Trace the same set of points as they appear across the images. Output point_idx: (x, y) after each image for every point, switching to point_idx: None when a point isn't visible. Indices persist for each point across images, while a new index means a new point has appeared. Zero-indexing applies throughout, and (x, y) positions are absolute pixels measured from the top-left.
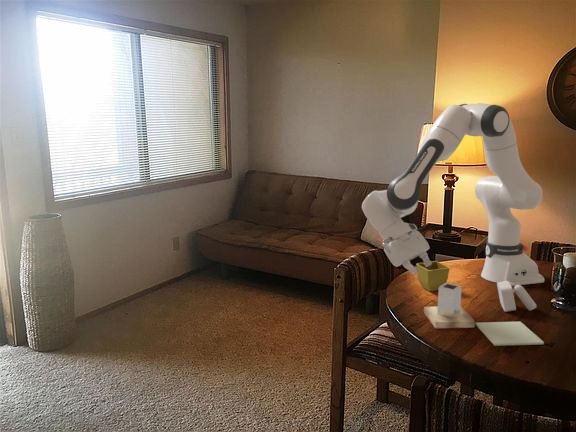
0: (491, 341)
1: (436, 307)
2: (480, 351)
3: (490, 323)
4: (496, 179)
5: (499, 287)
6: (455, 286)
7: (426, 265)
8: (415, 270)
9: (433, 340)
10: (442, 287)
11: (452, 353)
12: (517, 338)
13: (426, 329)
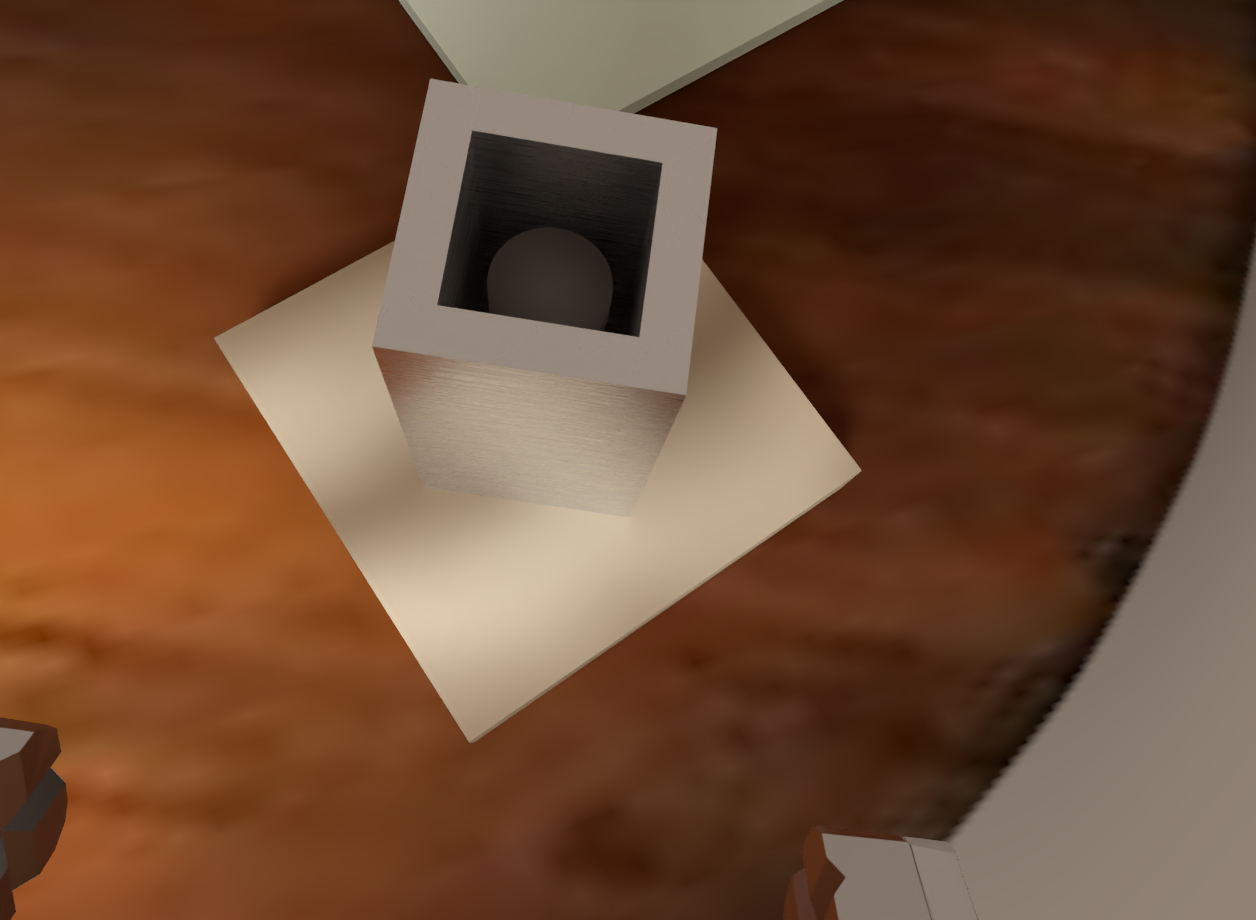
0: (832, 2)
1: (418, 586)
2: (1043, 59)
3: (469, 40)
4: None
5: None
6: (467, 172)
7: (41, 832)
8: (959, 876)
9: (1101, 433)
10: (669, 334)
11: (1220, 234)
12: None
13: (913, 564)
